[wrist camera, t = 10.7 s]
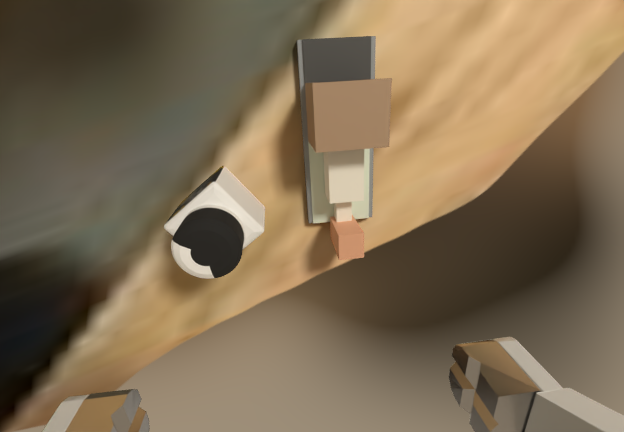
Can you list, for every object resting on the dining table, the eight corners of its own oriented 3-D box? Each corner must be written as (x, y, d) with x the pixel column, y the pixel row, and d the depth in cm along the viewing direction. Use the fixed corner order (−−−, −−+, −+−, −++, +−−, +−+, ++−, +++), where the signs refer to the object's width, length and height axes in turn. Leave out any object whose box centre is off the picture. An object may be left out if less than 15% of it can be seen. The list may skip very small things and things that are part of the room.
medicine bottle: (223, 163, 37) (204, 198, 26) (266, 207, 39) (265, 255, 28) (180, 203, 38) (143, 252, 27) (224, 242, 40) (207, 302, 29)
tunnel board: (296, 41, 33) (303, 29, 26) (372, 37, 34) (399, 25, 27) (308, 220, 41) (316, 248, 34) (369, 213, 41) (390, 240, 34)
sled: (322, 142, 36) (331, 152, 31) (356, 140, 36) (369, 149, 31) (326, 238, 41) (334, 260, 36) (356, 235, 41) (368, 256, 36)
